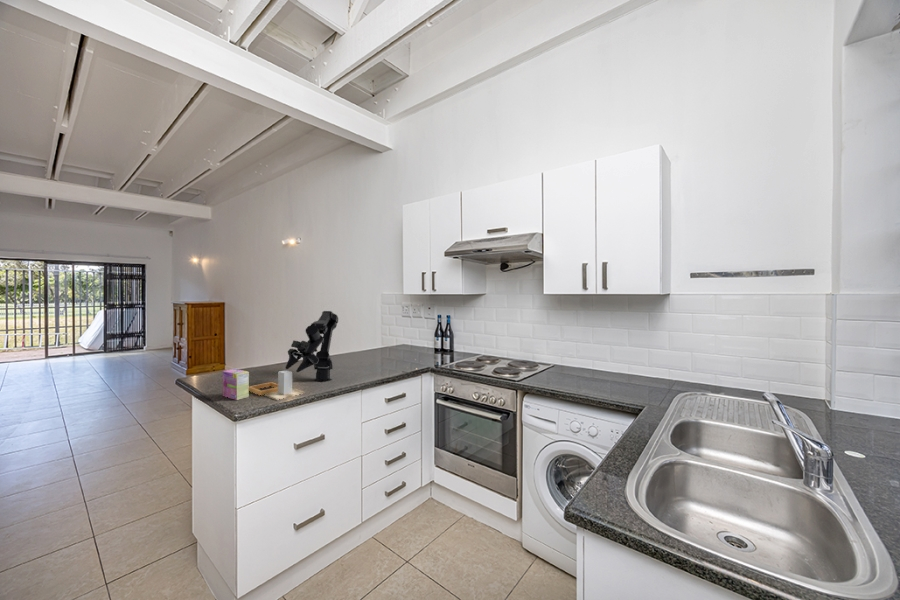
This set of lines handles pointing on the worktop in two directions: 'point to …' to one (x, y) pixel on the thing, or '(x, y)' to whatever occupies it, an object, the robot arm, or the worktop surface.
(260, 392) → the square wooden frame
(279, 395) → the board
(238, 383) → the box
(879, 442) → the worktop surface
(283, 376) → the block
